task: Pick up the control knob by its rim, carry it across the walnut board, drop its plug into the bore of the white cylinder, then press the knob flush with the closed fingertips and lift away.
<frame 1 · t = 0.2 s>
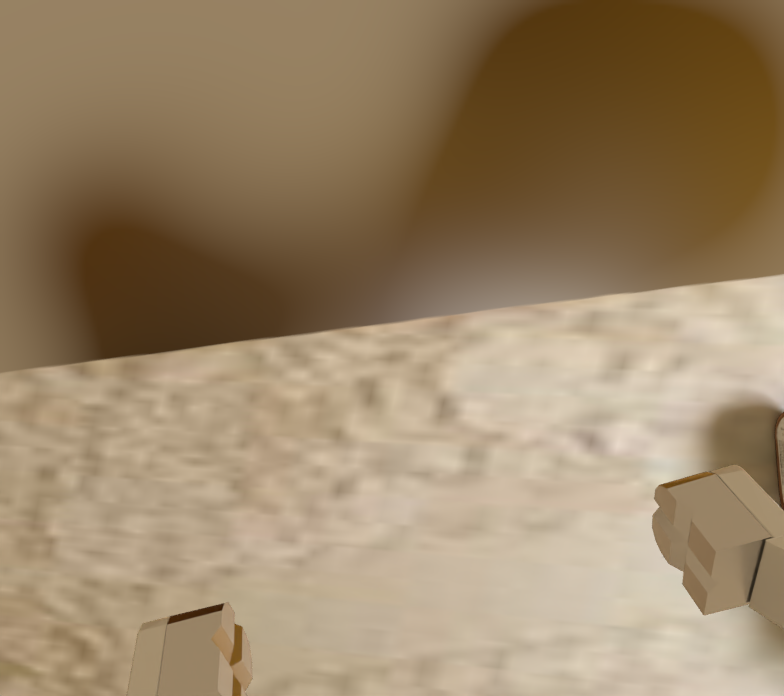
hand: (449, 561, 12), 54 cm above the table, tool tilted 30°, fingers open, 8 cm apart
tin: (783, 464, 71), on the table
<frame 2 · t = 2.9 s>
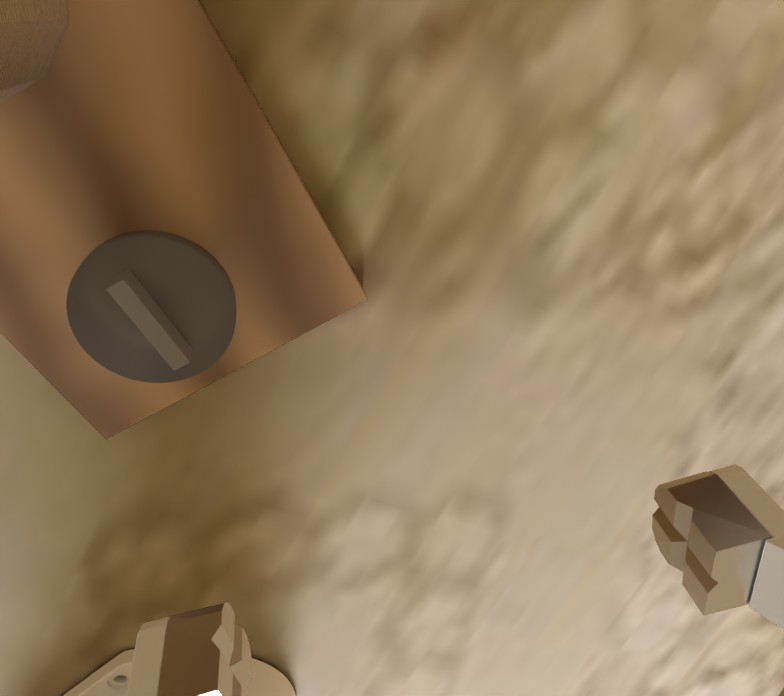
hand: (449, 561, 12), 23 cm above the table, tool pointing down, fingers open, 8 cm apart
control knob: (165, 279, 30), point 1 cm above the table, touching walnut board
walnut board: (73, 140, 28), on the table
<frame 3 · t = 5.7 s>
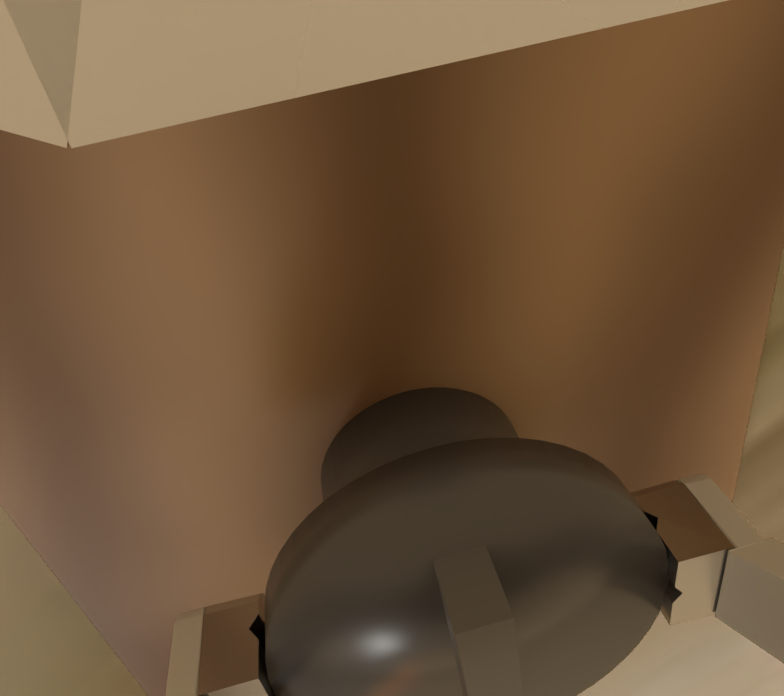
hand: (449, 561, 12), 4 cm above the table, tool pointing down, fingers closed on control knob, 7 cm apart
control knob: (421, 469, 14), point 1 cm above the table, touching gripper, walnut board
walnut board: (336, 133, 11), on the table
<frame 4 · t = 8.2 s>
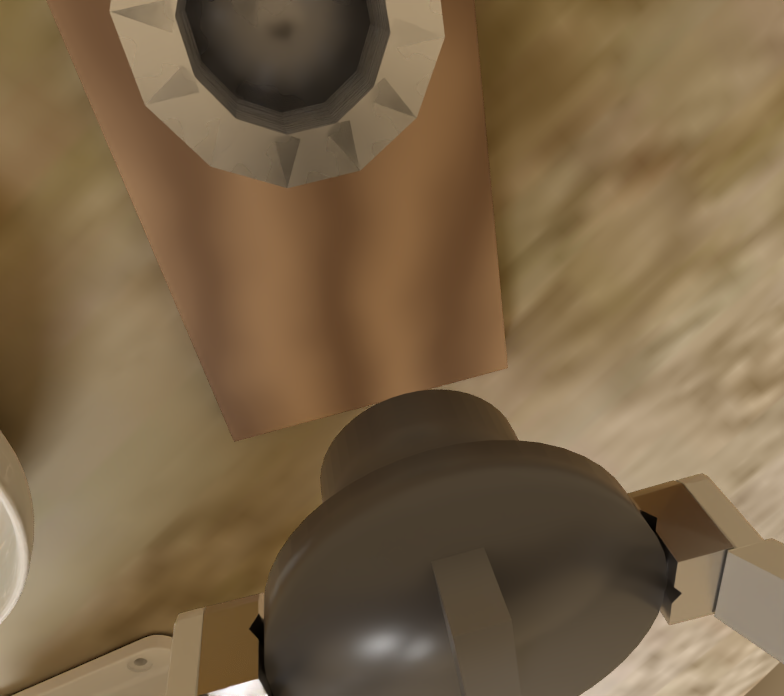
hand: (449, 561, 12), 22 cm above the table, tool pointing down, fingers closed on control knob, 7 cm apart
white cylinder: (274, 8, 24), resting on walnut board
control knob: (420, 471, 14), point 20 cm above the table, touching gripper
walnut board: (314, 172, 29), on the table
when the fingers open (11 cm above the table, at t = 10.8 s): control knob drops 2 cm, resting on white cylinder.
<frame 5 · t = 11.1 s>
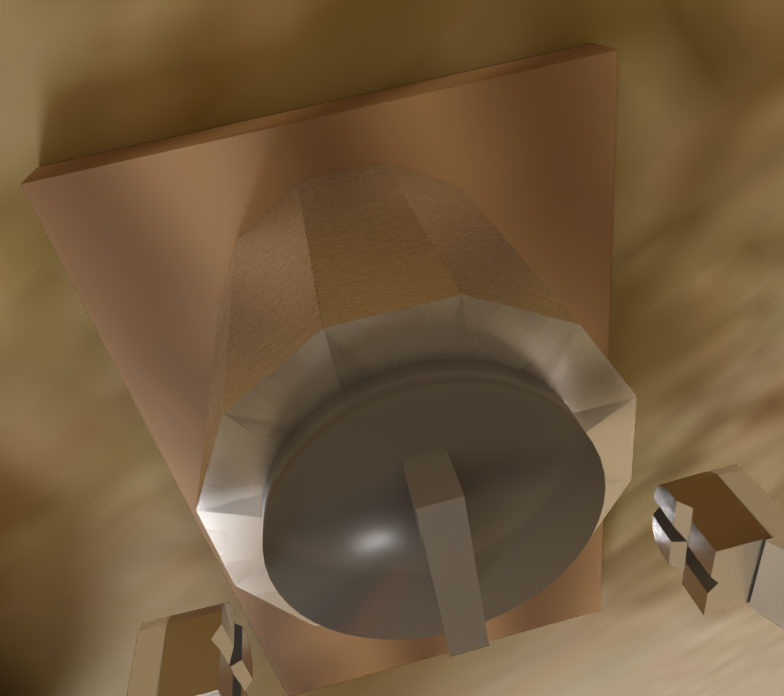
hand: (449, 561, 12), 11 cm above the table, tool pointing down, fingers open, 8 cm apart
white cylinder: (370, 310, 20), resting on walnut board
control knob: (400, 408, 15), point 6 cm above the table, touching white cylinder
walnut board: (398, 441, 25), on the table
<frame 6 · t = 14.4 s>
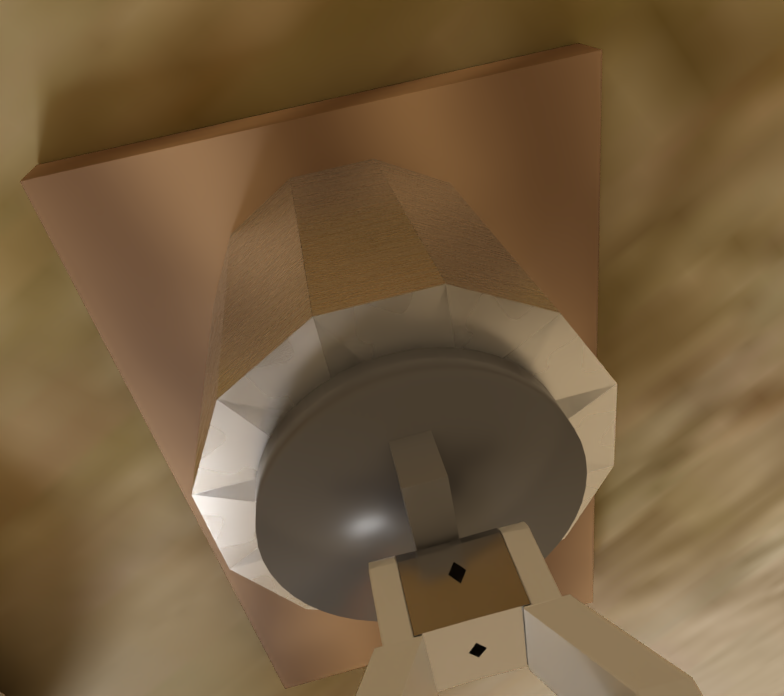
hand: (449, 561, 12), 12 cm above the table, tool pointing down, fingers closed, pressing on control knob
white cylinder: (363, 304, 20), resting on walnut board
control knob: (391, 398, 16), point 6 cm above the table, touching gripper, white cylinder
walnut board: (391, 434, 25), on the table
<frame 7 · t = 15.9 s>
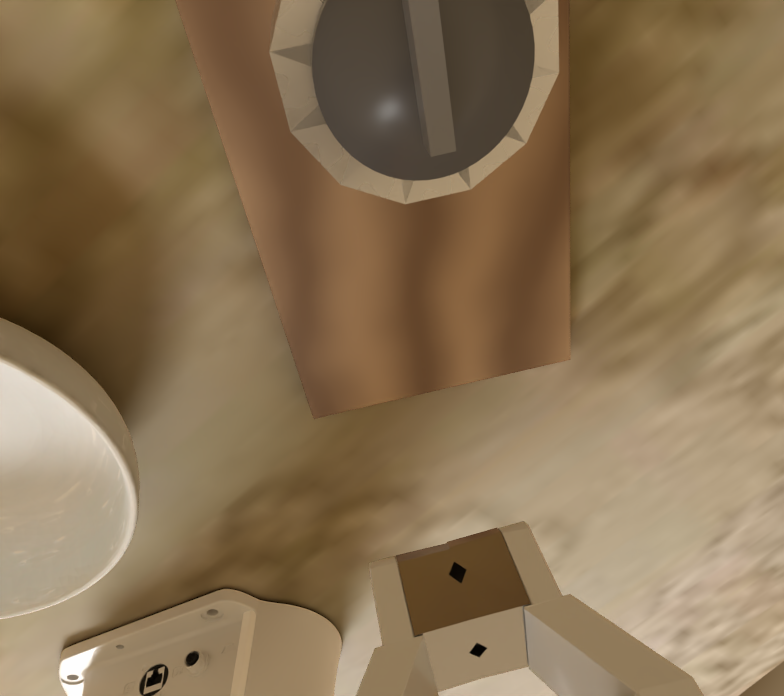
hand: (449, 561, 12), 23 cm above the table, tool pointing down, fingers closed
white cylinder: (384, 27, 26), resting on walnut board
control knob: (403, 48, 22), point 6 cm above the table, touching white cylinder
walnut board: (405, 175, 31), on the table
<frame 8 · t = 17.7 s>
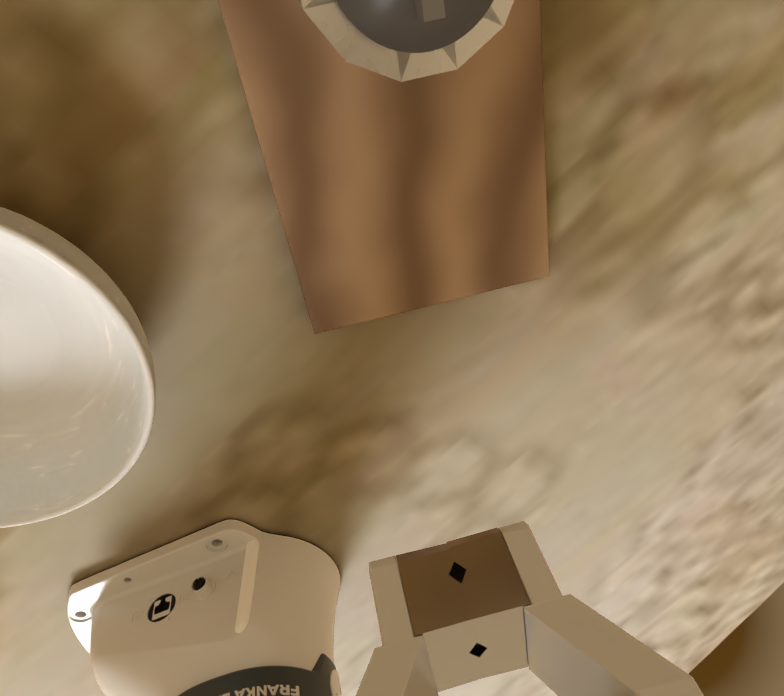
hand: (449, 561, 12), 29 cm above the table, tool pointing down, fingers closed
walnut board: (396, 94, 35), on the table
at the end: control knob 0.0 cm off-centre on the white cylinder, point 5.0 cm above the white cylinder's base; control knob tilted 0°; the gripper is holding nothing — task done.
